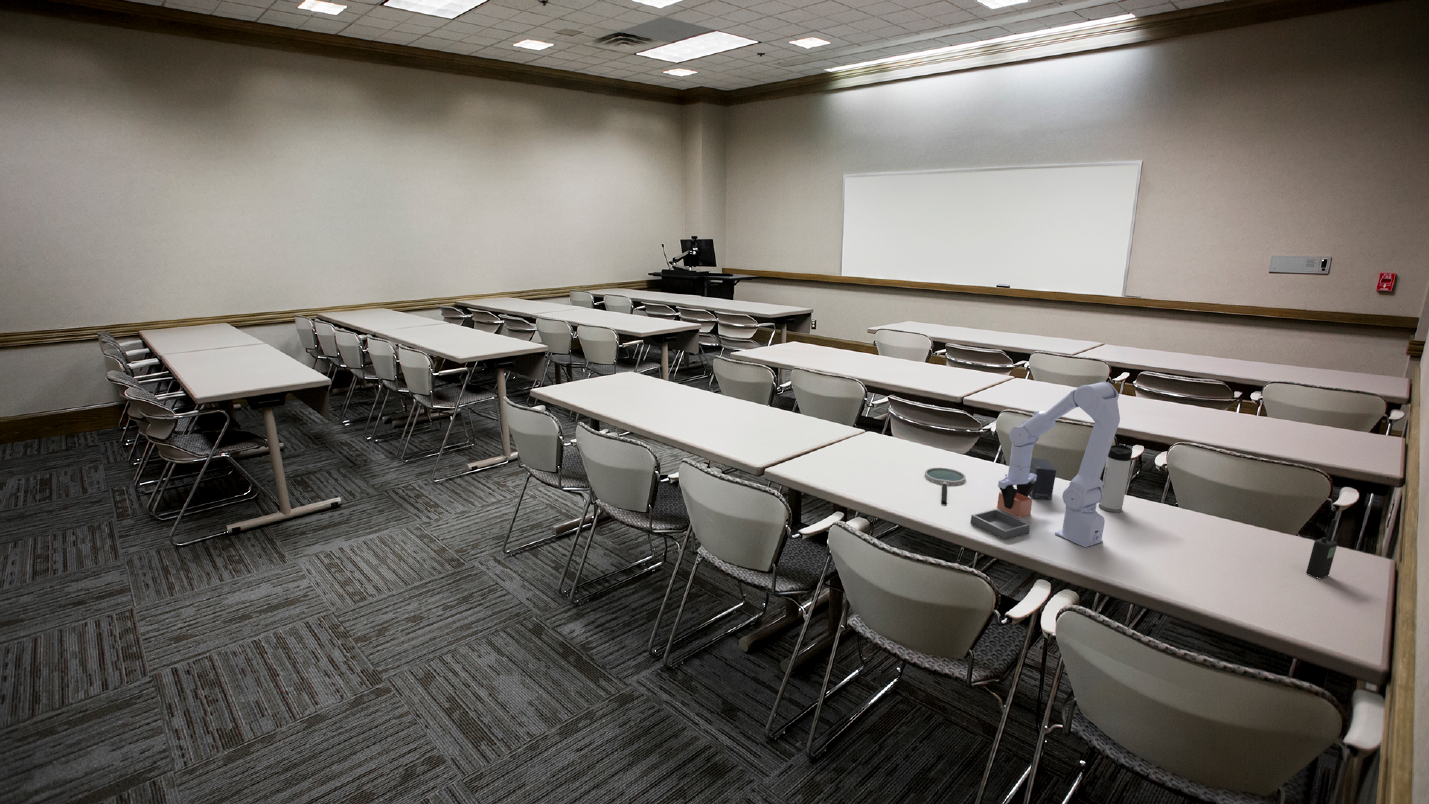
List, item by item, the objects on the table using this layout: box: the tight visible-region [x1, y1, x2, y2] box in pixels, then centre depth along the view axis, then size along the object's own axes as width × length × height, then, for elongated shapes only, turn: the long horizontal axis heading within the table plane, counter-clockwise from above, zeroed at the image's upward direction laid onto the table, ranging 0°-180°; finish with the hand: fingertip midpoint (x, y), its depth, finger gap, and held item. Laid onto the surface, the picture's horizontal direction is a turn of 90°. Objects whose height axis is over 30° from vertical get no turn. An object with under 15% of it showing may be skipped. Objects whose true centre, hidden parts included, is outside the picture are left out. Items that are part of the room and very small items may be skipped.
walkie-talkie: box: [1305, 518, 1338, 579], centre depth 168 cm, size 5×3×15 cm
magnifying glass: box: [924, 467, 966, 506], centre depth 223 cm, size 13×31×2 cm, turn 161°
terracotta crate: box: [996, 491, 1033, 518], centre depth 205 cm, size 8×5×5 cm, turn 28°
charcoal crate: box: [970, 508, 1031, 541], centre depth 193 cm, size 12×10×3 cm
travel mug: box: [1098, 443, 1133, 513], centre depth 205 cm, size 6×7×20 cm
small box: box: [1028, 457, 1057, 501], centre depth 218 cm, size 11×6×10 cm, turn 168°
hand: (1014, 506), depth 205 cm, fingers closed on terracotta crate, 5 cm apart
